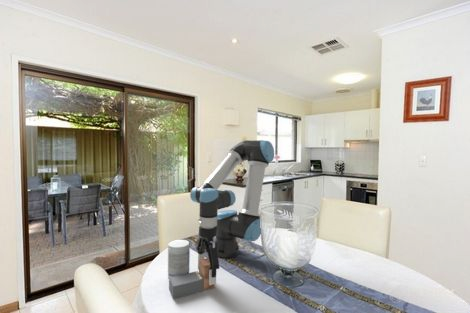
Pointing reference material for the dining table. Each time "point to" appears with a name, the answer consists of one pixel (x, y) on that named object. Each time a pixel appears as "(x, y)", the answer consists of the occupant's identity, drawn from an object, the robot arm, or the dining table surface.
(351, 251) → the dining table surface
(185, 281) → the grey long rectangular block
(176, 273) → the supplement tub
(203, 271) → the light brown wooden block
